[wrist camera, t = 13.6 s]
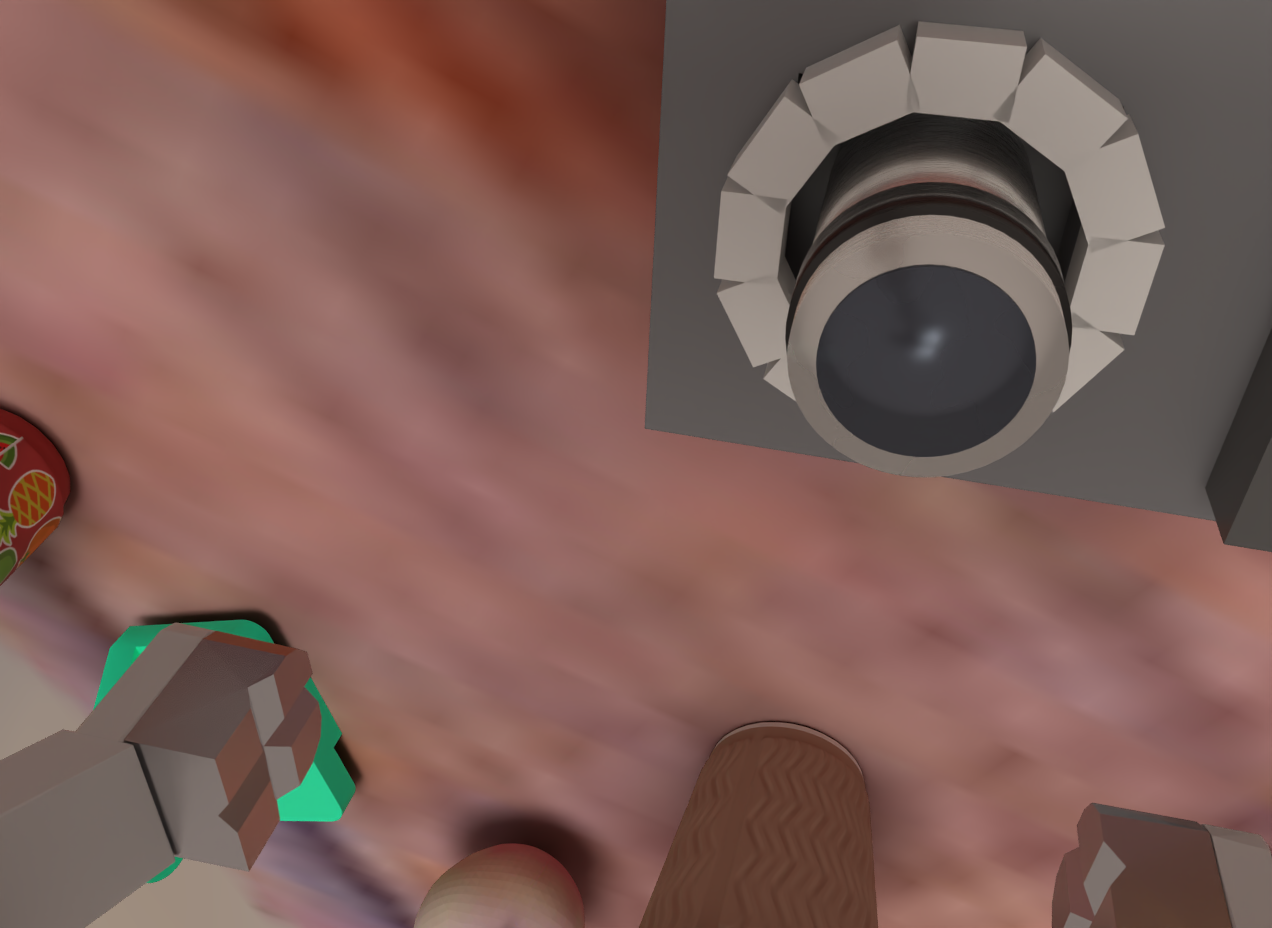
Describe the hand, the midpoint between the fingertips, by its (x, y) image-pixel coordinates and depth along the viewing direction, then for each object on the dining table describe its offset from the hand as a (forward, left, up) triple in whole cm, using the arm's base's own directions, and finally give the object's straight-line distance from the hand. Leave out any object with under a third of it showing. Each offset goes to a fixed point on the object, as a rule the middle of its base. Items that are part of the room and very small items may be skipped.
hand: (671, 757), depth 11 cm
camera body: (+2, +6, -25) cm, 26 cm away
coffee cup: (+30, +2, -26) cm, 39 cm away
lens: (+2, +3, -22) cm, 22 cm away
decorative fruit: (+40, -10, -26) cm, 48 cm away
